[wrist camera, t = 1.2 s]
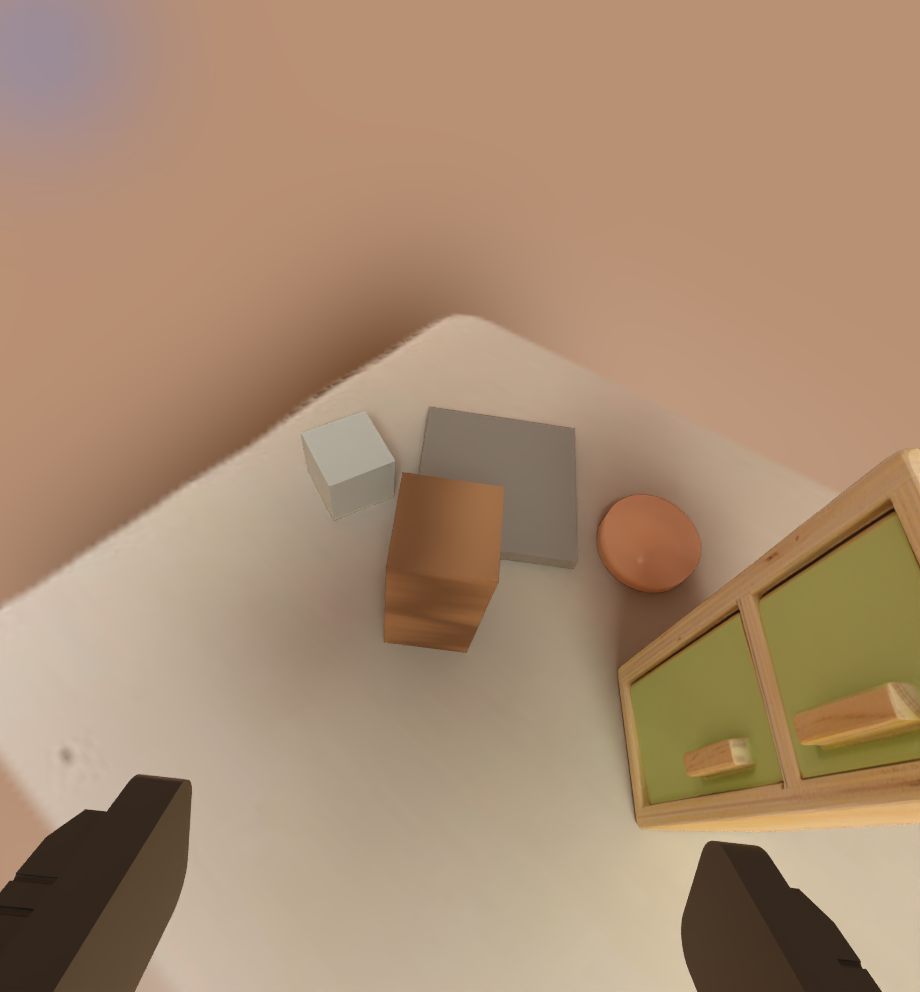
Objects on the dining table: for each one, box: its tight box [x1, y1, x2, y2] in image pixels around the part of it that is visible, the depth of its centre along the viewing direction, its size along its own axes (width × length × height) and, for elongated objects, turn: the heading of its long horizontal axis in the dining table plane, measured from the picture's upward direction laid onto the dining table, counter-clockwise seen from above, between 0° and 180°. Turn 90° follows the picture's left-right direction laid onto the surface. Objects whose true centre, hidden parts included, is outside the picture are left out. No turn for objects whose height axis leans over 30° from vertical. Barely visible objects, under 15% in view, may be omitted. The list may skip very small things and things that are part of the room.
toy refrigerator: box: [618, 448, 920, 832], centre depth 22 cm, size 8×7×21 cm
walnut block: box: [384, 472, 504, 653], centre depth 28 cm, size 4×4×10 cm
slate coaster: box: [419, 407, 577, 569], centre depth 37 cm, size 10×10×1 cm
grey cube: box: [301, 411, 395, 521], centre depth 35 cm, size 4×4×4 cm
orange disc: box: [597, 495, 701, 593], centre depth 36 cm, size 6×6×2 cm
